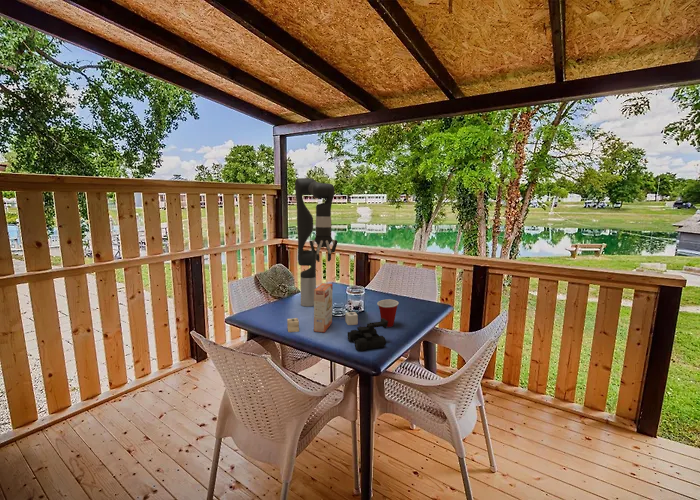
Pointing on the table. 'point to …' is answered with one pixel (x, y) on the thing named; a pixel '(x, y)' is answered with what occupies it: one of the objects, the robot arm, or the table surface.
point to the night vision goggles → (368, 336)
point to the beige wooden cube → (351, 318)
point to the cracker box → (323, 307)
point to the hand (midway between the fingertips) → (323, 261)
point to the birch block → (293, 325)
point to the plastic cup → (388, 310)
